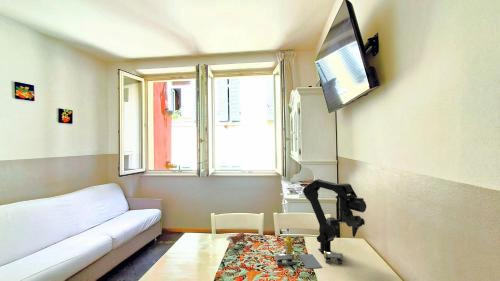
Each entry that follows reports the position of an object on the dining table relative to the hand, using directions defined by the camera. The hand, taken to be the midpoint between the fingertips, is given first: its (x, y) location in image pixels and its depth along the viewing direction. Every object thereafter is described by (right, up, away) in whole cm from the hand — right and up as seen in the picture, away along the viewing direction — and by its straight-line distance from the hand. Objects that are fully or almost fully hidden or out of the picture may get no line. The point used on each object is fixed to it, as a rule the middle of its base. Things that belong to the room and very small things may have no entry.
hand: (345, 237), depth 125 cm
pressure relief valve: (-31, -13, +6) cm, 34 cm away
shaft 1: (-32, -13, -1) cm, 34 cm away
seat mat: (-19, -13, 0) cm, 23 cm away
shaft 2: (-7, -13, 0) cm, 14 cm away
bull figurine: (-59, -14, +19) cm, 64 cm away
